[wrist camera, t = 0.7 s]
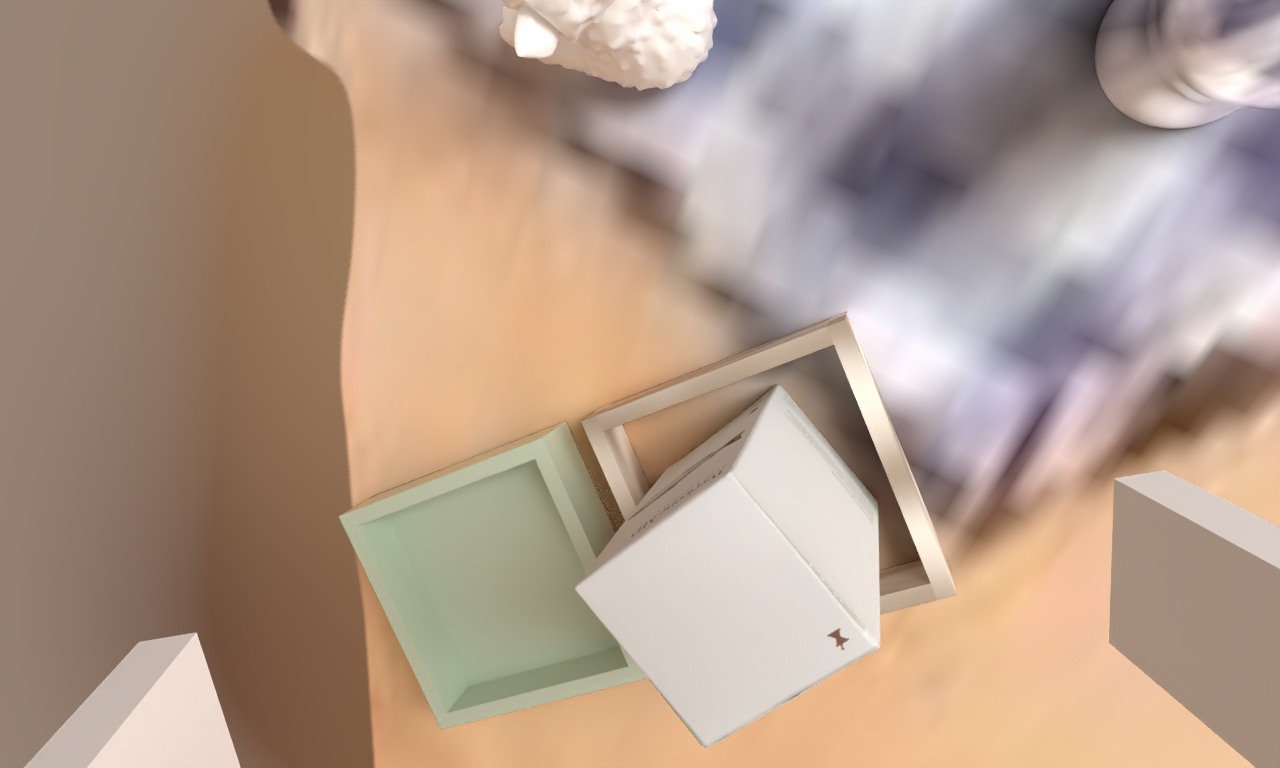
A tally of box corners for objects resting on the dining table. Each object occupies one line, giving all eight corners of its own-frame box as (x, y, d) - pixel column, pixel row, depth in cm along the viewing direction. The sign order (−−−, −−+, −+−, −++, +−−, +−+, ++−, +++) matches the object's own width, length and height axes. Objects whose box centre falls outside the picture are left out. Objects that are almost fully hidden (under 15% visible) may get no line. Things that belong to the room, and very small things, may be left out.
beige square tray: (598, 408, 38) (581, 421, 36) (847, 311, 34) (845, 319, 32) (698, 635, 39) (688, 662, 37) (950, 569, 35) (956, 595, 33)
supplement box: (779, 377, 35) (735, 464, 24) (882, 504, 35) (890, 655, 23) (660, 467, 38) (565, 587, 26) (755, 585, 38) (705, 759, 26)
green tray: (373, 496, 43) (338, 516, 40) (565, 421, 39) (542, 438, 36) (468, 696, 44) (441, 729, 41) (665, 644, 40) (649, 677, 37)
